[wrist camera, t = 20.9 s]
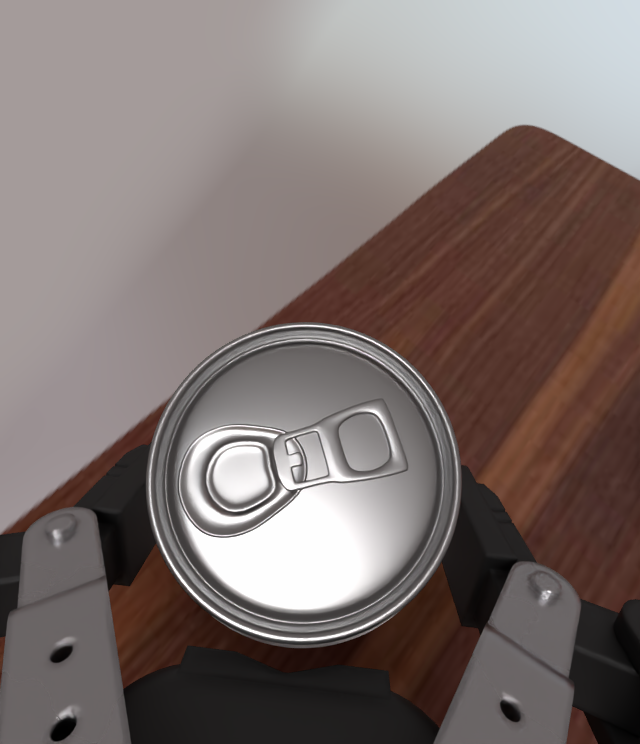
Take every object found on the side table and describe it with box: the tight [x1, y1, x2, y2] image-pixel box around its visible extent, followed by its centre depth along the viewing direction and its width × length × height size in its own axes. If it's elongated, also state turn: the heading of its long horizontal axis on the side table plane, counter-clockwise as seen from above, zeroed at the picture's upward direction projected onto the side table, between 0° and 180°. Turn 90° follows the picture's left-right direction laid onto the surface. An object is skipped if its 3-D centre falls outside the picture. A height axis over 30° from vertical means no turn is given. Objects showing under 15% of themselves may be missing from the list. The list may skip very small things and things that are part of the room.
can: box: [146, 322, 462, 648], centre depth 12 cm, size 6×6×12 cm
